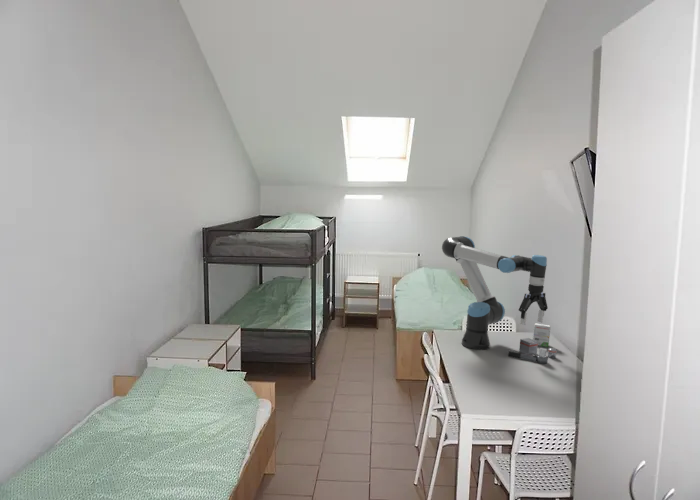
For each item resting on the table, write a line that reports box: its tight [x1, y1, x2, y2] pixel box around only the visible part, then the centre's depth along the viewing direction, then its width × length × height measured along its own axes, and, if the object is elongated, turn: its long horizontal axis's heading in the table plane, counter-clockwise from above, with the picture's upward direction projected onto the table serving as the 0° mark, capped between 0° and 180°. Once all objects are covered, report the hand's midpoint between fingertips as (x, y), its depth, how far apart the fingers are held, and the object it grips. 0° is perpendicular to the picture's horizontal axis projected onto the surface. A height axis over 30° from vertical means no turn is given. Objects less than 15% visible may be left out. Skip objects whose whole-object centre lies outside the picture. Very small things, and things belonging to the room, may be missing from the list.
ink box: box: [532, 322, 551, 348], centre depth 295 cm, size 8×5×12 cm, turn 70°
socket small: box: [547, 347, 558, 359], centre depth 274 cm, size 4×4×4 cm
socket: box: [518, 337, 538, 355], centre depth 279 cm, size 6×6×7 cm
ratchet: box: [508, 347, 549, 365], centre depth 269 cm, size 19×6×7 cm, turn 60°
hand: (531, 323), depth 278 cm, fingers open, 13 cm apart
